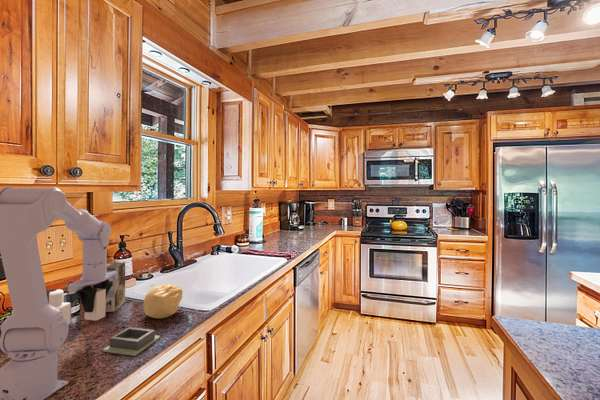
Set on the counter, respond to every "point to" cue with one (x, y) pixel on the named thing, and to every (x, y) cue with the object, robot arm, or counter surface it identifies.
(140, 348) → the socket board
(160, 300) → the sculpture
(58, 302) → the white stepped block
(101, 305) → the keyed plug
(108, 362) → the counter surface
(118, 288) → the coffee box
